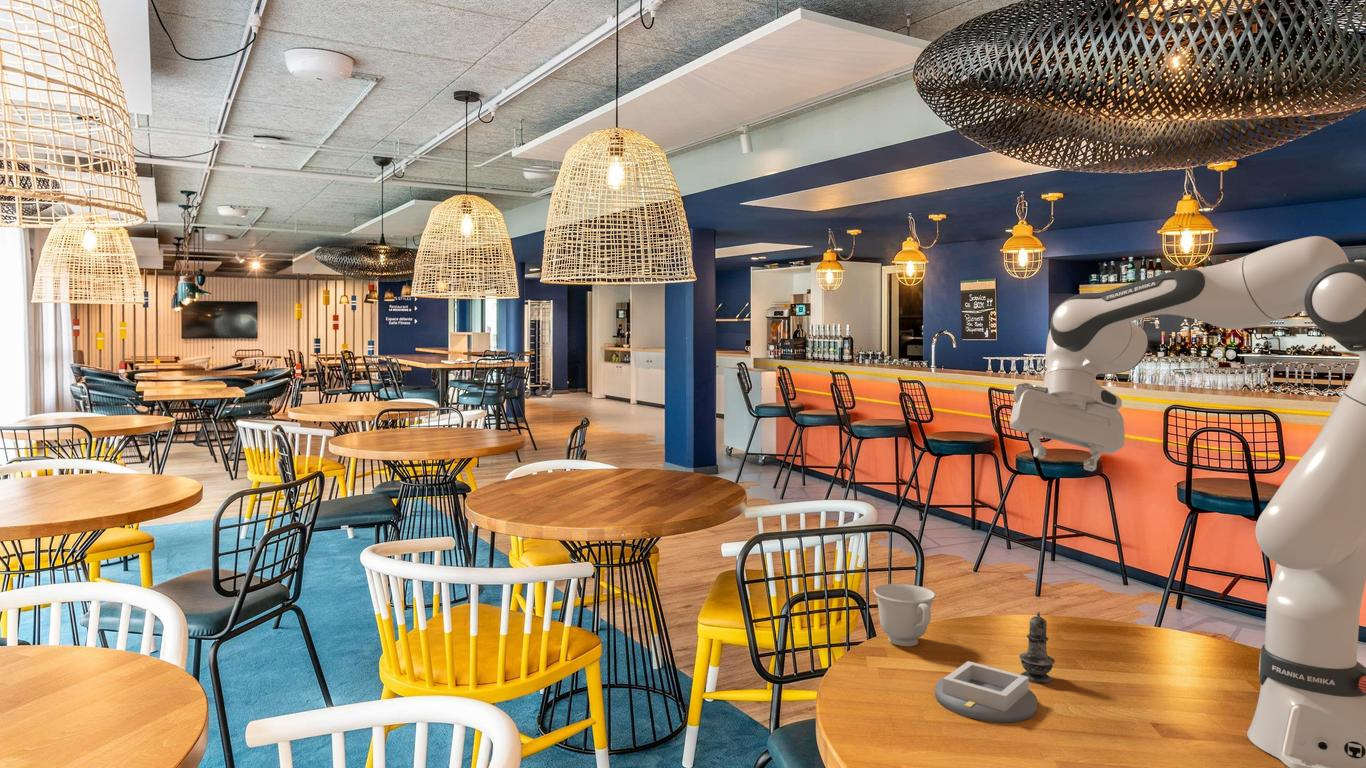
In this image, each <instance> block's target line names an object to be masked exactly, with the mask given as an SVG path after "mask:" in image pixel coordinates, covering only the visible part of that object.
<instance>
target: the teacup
mask: <svg viewBox="0 0 1366 768" xmlns="http://www.w3.org/2000/svg"><path fill="white" fill-rule="evenodd" d="M873 593H874V595H875V597H876V600H877V609H878V618H879V625H880V628H881V629H882V631H883V632H884V633H885V634H886V635H888V641H889V643H891V644H893V645H895V646H899V647H912V646H916V645H918V643H919V642H918V641H919V640H918V638H919V639H920V638H921V637H922V636H924V635H925V633H926V632H927V629H928V626H929V624H930V623H931V616H932V613H931V607H932V603H933V601H934V599H936V594H935V593H934V592H933V590H930V589H929V588H926V587H923V586H920V585H914V584H908V583H888V584H881V585H878V586H876V587H874V589H873Z"/></svg>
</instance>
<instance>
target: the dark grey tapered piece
mask: <svg viewBox="0 0 1366 768" xmlns="http://www.w3.org/2000/svg"><path fill="white" fill-rule="evenodd" d="M1047 627H1048V622H1047V621H1046V619H1045V618H1044V617H1042V616H1041V614H1040V612H1039V611H1038V612H1037V613H1036V616H1033V617H1031V618H1030V619H1029V631H1028V634H1027V635H1026V637H1027V639H1028V648H1027V651H1026V652H1022V653H1020V654H1019V655H1018V657H1019V659H1020V662H1021V665H1022V668H1023V669H1024V670H1025V671H1023V672H1021V673H1020V675H1023V676H1027V677H1029V680H1028V683H1032V684H1037V685H1046V684H1047V685H1048V684H1051V683H1052V682H1053V678H1052V677H1051V676H1050V675H1049V674H1048V673H1050V672H1051V671H1052V670H1053V665H1054V664H1055V661H1056V660H1055V658H1053V657H1052V656H1050V655H1048V652H1047V641H1049V637H1047Z"/></svg>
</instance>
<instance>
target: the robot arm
mask: <svg viewBox="0 0 1366 768" xmlns="http://www.w3.org/2000/svg"><path fill="white" fill-rule="evenodd" d="M1301 312H1306V314H1307V315H1308V318H1309V320H1311V322H1312V323H1313V324H1314V325H1315V326H1316V327H1317V328H1319V330H1321V331H1322V332H1323V333H1324V334H1326V335H1328V336H1329V337H1330V338H1332V339H1333V340H1335V341H1336V342H1337V343H1338V344H1340V346H1342V347H1343V348H1345V349H1346V350H1347V351H1350V352H1353V353H1354V352H1355V353H1356V352H1358V353H1357V354H1358V357H1359V361H1358V366H1357V369H1356V371H1355V373H1354V374H1353V377H1352V378H1351V380H1350V381H1349V383H1348V384H1347V386H1346V388H1345V389H1344V391H1343V393H1342V394H1341V397H1340V398H1339V400H1338V401H1337V403H1336V404H1335V406H1334V408H1333V409H1332V411H1331V413H1330V415H1329V416H1328V418H1327V420H1326V422H1325V423H1324V425H1323V426H1322V428H1321V430H1320V431H1319V432H1318V435H1316V438H1314V441H1313V443H1312V444H1311V445H1310V447H1309V448H1308V449H1307V451H1305V453H1304V454H1303V456H1302V457H1301V458H1300V459H1299V461H1298V462H1297V463H1296V465H1295V466H1294V467H1293V468H1292V470H1290V473H1289V474H1288V475H1287V477H1286V478H1285V479H1284V480H1283V482H1282V484H1281V485H1280V486H1279V487H1278V489H1277V491H1276V492H1275V494H1274V495H1273V496H1272V498H1271V500H1270V501H1269V502H1268V503H1267V505H1266V507H1265V508H1264V509H1263V511H1262V512H1261V514H1259V517H1258V519H1257V521H1256V525H1255V530H1254V531H1255V538H1256V542H1257V544H1258V547H1259V548H1260V550H1261V551H1262V552H1263V553H1264V555H1265V556H1266V557H1267V558H1268V559H1269V560H1271V561H1272V562H1274V563H1275V564H1276V566H1275V569H1274V574H1273V577H1272V581H1271V585H1270V588H1269V590H1268V592H1267V596H1266V611H1265V613H1266V615H1265V631H1264V634H1265V635H1264V644H1262V647H1261V649H1260V652H1259V661H1258V677H1259V683H1260V689H1259V695H1258V701H1257V704H1256V707H1255V708H1256V709H1255V712H1254V714H1253V716H1252V717H1253V718H1252V721H1251V723H1250V725H1249V728H1248V729H1247V731H1246V732H1247V733H1246V735H1247V738H1248V740H1249V741H1250V742H1251V743H1252V744H1254V745H1255V746H1256V747H1257V748H1258V749H1261V750H1262V751H1264V752H1266V753H1268V754H1270V755H1271V756H1273V757H1275V758H1277V759H1278V760H1280V761H1281V762H1282V763H1283V764H1284V765H1286V767H1288V768H1366V666H1364V665H1363V664H1362V663H1360V662H1359V661H1358V660H1357V659H1358V646H1359V645H1358V644H1359V633H1360V631H1359V629H1360V614H1361V606H1362V600H1363V596H1364V591H1365V585H1366V261H1350V260H1349V259H1348V256H1347V254H1346V253H1345V251H1344V250H1343V249H1342V247H1341V246H1340V245H1339V244H1338V243H1336V242H1334V240H1332V239H1330V238H1328V237H1325V236H1319V235H1314V236H1307V237H1306V236H1305V237H1302V238H1298V239H1293V240H1290V241H1289V240H1288V241H1286V242H1282V243H1279V244H1275V245H1272V246H1268V247H1265V248H1263V249H1259V250H1257V251H1254V252H1252V253H1249V254H1247V255H1245V256H1242V257H1238V258H1235V259H1233V260H1232V259H1231V260H1229V261H1226V262H1222V263H1217V264H1214V265H1210V266H1209V265H1208V266H1206V267H1198V268H1188V269H1179V270H1173V271H1169V272H1165V273H1161V274H1157V275H1155V276H1152V277H1148V278H1145V279H1141V280H1137V281H1135V282H1131V283H1129V284H1125V285H1122V286H1118V287H1115V288H1112V289H1109V290H1105V291H1101V292H1093V293H1079V294H1076V295H1073V296H1071V297H1069V298H1067V299H1065V300H1063V301H1062V302H1061V303H1060V304H1059V305H1058V306H1057V307H1056V308H1055V309H1054V311H1053V313H1052V315H1051V318H1050V323H1049V331H1048V335H1047V340H1046V347H1045V348H1046V349H1045V363H1046V371H1045V373H1044V377H1043V386H1041V385H1035V384H1031V383H1029V382H1022V383H1019V384H1017V385H1015V387H1014V390H1013V400H1014V402H1013V405H1012V408H1011V412H1010V413H1011V415H1010V420H1009V423H1010V426H1011V428H1012V429H1013V430H1015V431H1018V432H1022V433H1026V434H1028V440H1029V442H1030V444H1031V446H1032V448H1033V457H1034V458H1036V459H1037V458H1038V459H1043V458H1046V456H1047V446H1043V444H1042V442H1041V440H1040V438H1041V437H1042V438H1046V439H1049V440H1054V441H1057V442H1062V443H1065V444H1069V445H1073V446H1077V447H1081V448H1085V449H1089V454H1090V455H1091V457H1090V458H1087V459H1085V460H1083V470H1085V471H1089V472H1094V471H1096V470H1097V464H1098V460H1099V459H1100V457H1101V456H1103V454H1109V455H1111V454H1114V453H1116V452H1119V451H1121V449H1122V448H1123V447H1124V446H1125V433H1126V432H1125V422H1124V418H1123V415H1122V414H1121V412H1120V411H1119V409H1121V407H1122V406H1123V405H1122V404H1123V401H1122V399H1121V398H1120V397H1119V396H1117V395H1116V394H1115V393H1113V392H1111V391H1109V390H1108V389H1106V388H1104V387H1103V386H1102V385H1100V384H1098V383H1097V382H1096V381H1097V380H1096V377H1097V376H1098V375H1115V374H1120V373H1121V374H1122V373H1125V372H1128V371H1130V370H1132V369H1134V368H1136V367H1138V365H1140V364H1141V362H1142V361H1143V360H1144V359H1145V357H1146V354H1147V352H1148V349H1149V338H1148V334H1147V332H1146V330H1145V329H1144V328H1142V327H1141V326H1139V325H1138V324H1136V323H1135V322H1134V321H1138V320H1142V319H1145V318H1148V317H1152V316H1157V315H1158V316H1159V315H1170V316H1172V315H1173V316H1180V317H1185V318H1188V319H1189V318H1190V319H1193V320H1197V321H1199V322H1202V323H1206V324H1209V325H1212V326H1214V327H1218V328H1221V329H1226V330H1242V329H1248V328H1255V327H1259V326H1261V325H1266V324H1268V323H1271V322H1274V321H1276V320H1281V319H1283V318H1286V317H1288V316H1291V315H1294V314H1298V313H1301Z"/></svg>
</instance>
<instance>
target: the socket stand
mask: <svg viewBox="0 0 1366 768" xmlns="http://www.w3.org/2000/svg"><path fill="white" fill-rule="evenodd" d="M1028 680H1029V677H1027V676H1023V675H1021V674H1018V673H1015V672H1012V671H1007V670H1002V669H999V668H996V667H991V666H989V665H988V666H987V665H985V664H981V663H976V662H974V661H973V662H972V661H971V660H970V661H969V660H967V661H966V662H964V663H963V664H962V665H961V666H959V667H957V669H955V670H953V671H952V672H950V673H949V674H947V675H946V676H944V677H942V678H940V679H938V680H937V682H936V683H935V691H934V692H935V694H934V695H935V696H934V697H935V699H936V700H937V702H938V703H939V704H940V705H941V706H942V707H943V708H945V709H947V710H949V711H950V712H952V713H954V712H955V713H954V714H957V715H959V714H960V715H959V716H962V717H966V718H968V717H969V719H972V718H973V720H976V719H977V720H978V721H981V720H983V721H982V722H987V721H989V722H988V723H997V722H998V724H999V723H1000V724H1003V723H1005V724H1007V723H1009V724H1011V723H1019V722H1023V721H1024V722H1025V721H1027V720H1029V719H1031V718H1033V717H1034V716H1035V715H1036V714H1037V711H1038V698H1037V695H1036V694H1035V693H1034V692H1033V691H1032V690H1030V689H1029V682H1028ZM977 720H976V721H977Z"/></svg>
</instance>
